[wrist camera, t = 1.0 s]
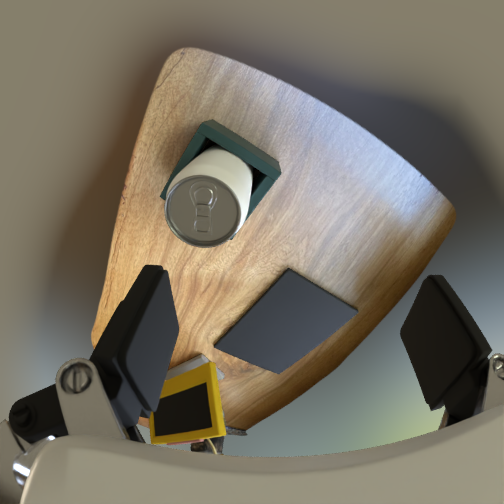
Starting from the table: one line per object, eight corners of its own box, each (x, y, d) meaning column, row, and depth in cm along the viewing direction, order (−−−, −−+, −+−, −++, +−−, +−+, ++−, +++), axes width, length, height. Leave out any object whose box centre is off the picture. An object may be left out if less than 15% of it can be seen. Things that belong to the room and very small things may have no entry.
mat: (288, 267, 35) (288, 269, 35) (357, 310, 39) (358, 312, 38) (214, 345, 44) (213, 347, 44) (278, 372, 48) (278, 374, 47)
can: (256, 145, 27) (251, 173, 17) (250, 201, 31) (243, 257, 20) (197, 141, 27) (157, 167, 17) (195, 196, 31) (161, 248, 20)
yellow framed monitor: (212, 345, 44) (197, 427, 31) (242, 366, 47) (236, 443, 34) (151, 375, 52) (132, 437, 38) (178, 391, 54) (165, 451, 41)
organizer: (212, 119, 26) (202, 122, 22) (279, 161, 28) (281, 173, 24) (173, 182, 30) (159, 197, 26) (235, 220, 32) (231, 240, 28)
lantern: (211, 420, 62) (201, 501, 41) (188, 409, 59) (173, 494, 38) (234, 413, 59) (226, 502, 38) (210, 402, 56) (197, 497, 35)
